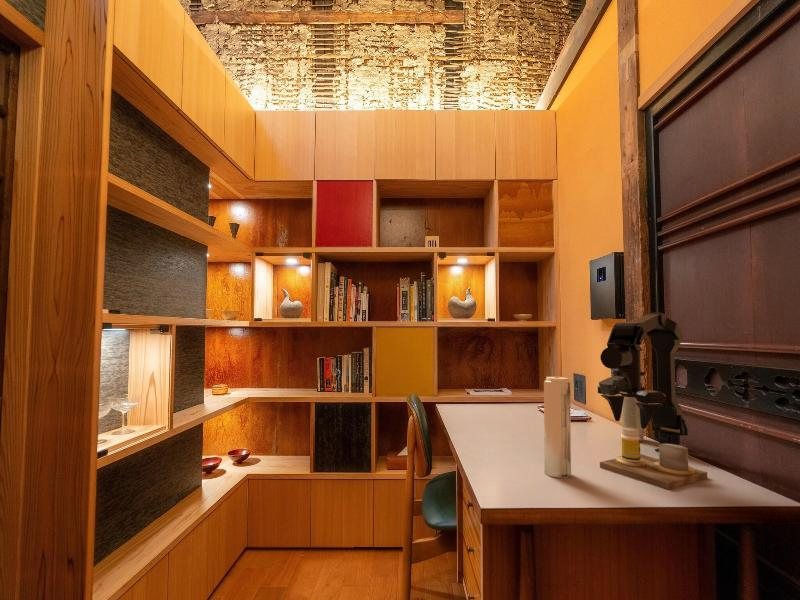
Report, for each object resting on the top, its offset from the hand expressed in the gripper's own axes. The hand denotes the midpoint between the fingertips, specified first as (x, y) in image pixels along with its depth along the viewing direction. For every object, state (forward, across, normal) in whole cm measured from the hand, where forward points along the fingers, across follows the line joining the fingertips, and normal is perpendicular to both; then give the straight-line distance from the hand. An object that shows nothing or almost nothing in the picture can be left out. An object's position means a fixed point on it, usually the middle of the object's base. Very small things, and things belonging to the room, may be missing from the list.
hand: (630, 424), depth 116 cm
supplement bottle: (+10, 0, 0) cm, 10 cm away
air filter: (+12, 0, -23) cm, 26 cm away
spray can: (+12, -27, +26) cm, 39 cm away
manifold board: (+12, +4, +3) cm, 13 cm away
